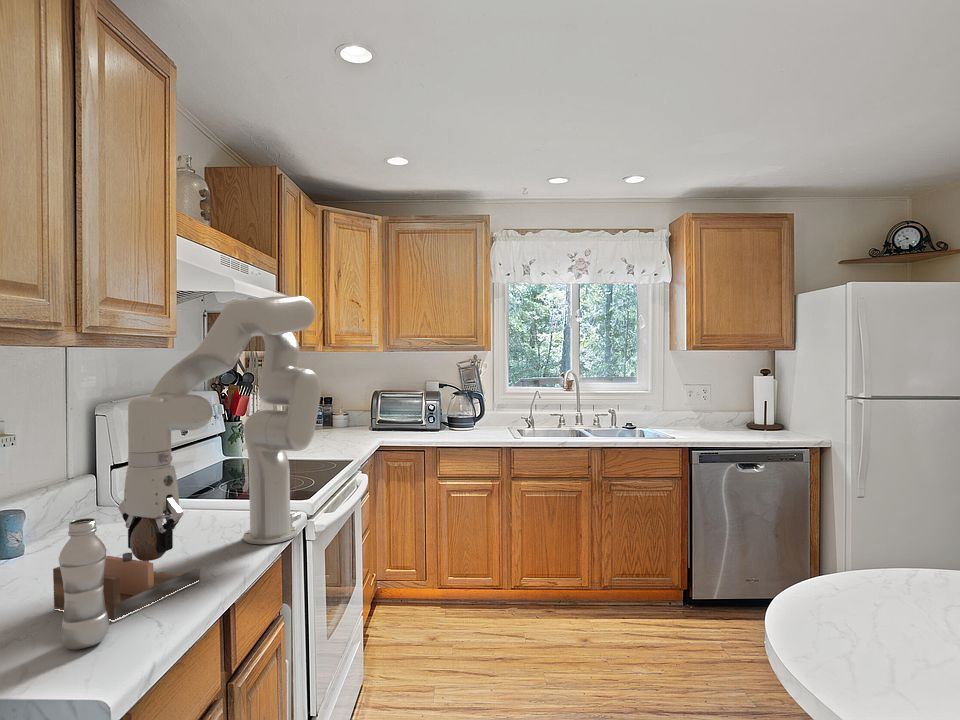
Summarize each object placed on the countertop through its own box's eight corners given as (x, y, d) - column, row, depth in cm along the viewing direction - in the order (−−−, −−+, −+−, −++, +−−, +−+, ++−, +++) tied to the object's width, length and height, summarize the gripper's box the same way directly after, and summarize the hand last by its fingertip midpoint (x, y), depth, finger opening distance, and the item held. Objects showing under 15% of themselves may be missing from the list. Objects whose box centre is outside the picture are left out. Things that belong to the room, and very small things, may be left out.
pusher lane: (144, 572, 127) (144, 536, 127) (200, 581, 122) (199, 544, 122) (54, 610, 109) (53, 568, 109) (114, 622, 104) (113, 579, 104)
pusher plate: (109, 587, 118) (108, 549, 118) (154, 595, 114) (154, 556, 114) (102, 590, 116) (101, 551, 116) (147, 598, 112) (146, 559, 112)
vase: (125, 565, 116) (125, 519, 116) (135, 553, 122) (135, 510, 122) (165, 561, 117) (165, 517, 117) (173, 550, 124) (173, 508, 124)
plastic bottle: (118, 633, 100) (115, 514, 100) (93, 654, 94) (90, 527, 93) (78, 634, 100) (75, 515, 100) (50, 655, 93) (47, 528, 93)
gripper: (198, 459, 120) (199, 548, 120) (134, 453, 126) (134, 538, 126) (167, 465, 113) (167, 560, 113) (100, 459, 119) (101, 549, 119)
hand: (150, 548), depth 120 cm, fingers closed on vase, 6 cm apart
